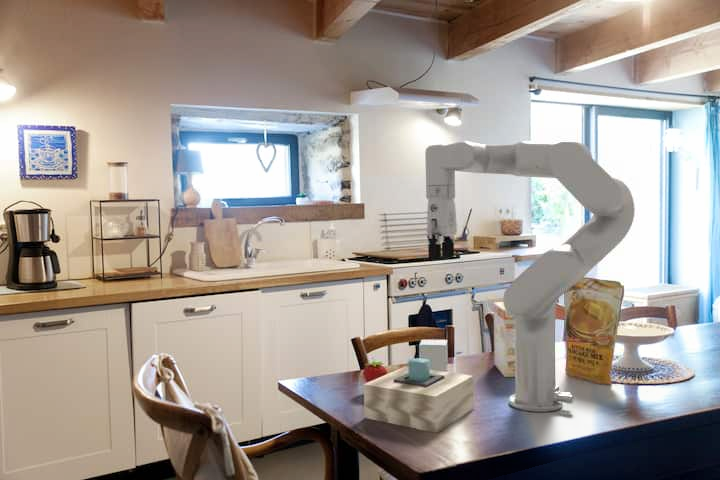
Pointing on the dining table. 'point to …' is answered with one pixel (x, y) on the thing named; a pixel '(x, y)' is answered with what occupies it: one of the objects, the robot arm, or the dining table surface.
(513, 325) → the coffeecake box
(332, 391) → the dining table surface
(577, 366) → the pancake mix bag
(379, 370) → the strawberry
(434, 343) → the supplement box
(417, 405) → the collar block
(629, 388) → the dining table surface
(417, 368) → the teal peg
